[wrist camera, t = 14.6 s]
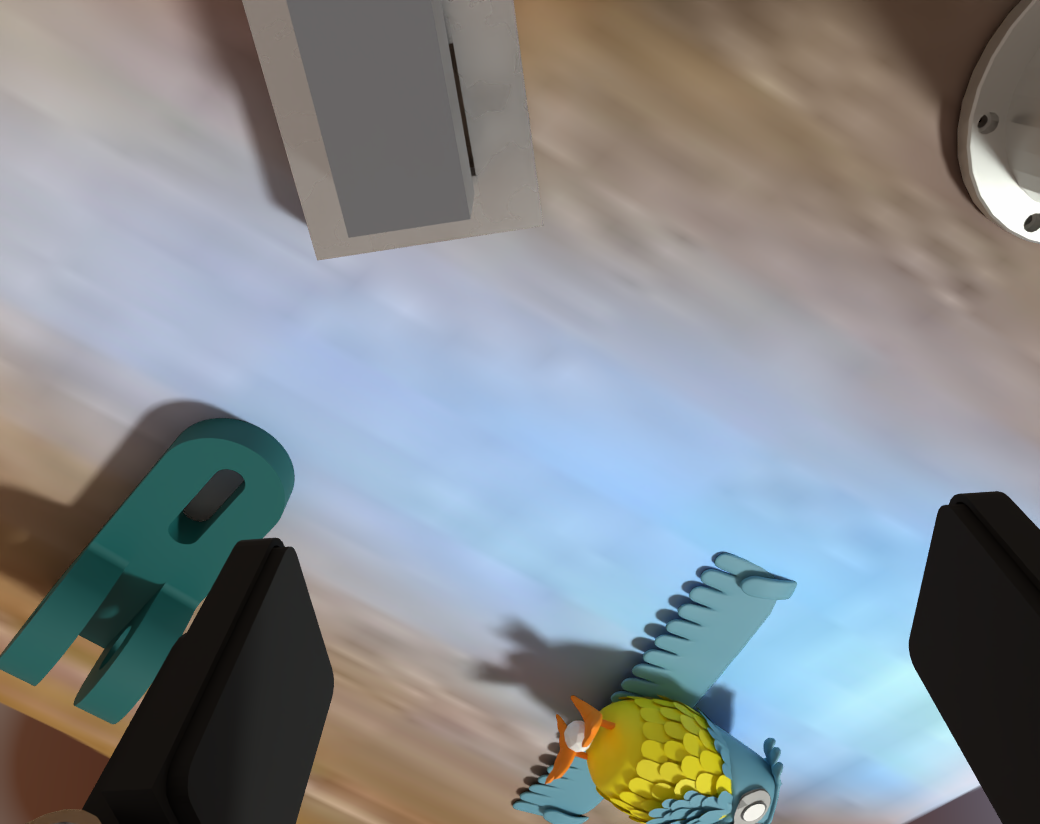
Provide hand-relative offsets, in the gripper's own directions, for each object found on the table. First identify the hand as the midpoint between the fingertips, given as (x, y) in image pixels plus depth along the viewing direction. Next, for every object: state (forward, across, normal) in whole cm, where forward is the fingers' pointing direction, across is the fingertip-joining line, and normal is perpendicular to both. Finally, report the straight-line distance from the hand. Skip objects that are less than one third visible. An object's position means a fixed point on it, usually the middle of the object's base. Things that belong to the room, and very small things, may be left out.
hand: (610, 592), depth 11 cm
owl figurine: (+27, -4, +36) cm, 46 cm away
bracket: (+26, +23, +17) cm, 39 cm away
